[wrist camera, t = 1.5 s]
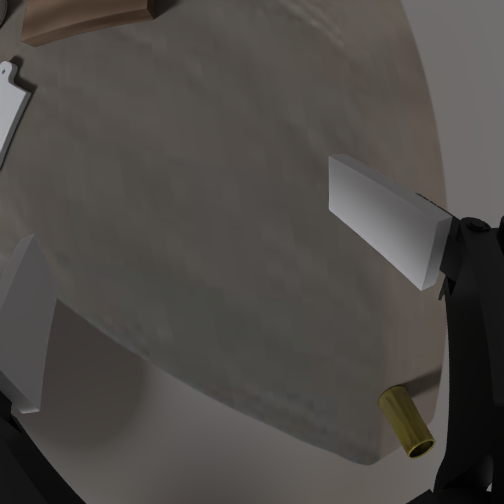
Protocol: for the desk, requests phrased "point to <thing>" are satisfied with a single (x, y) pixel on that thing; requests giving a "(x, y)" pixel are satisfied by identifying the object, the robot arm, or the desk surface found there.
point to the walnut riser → (79, 17)
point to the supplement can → (3, 10)
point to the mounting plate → (10, 105)
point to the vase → (406, 422)
